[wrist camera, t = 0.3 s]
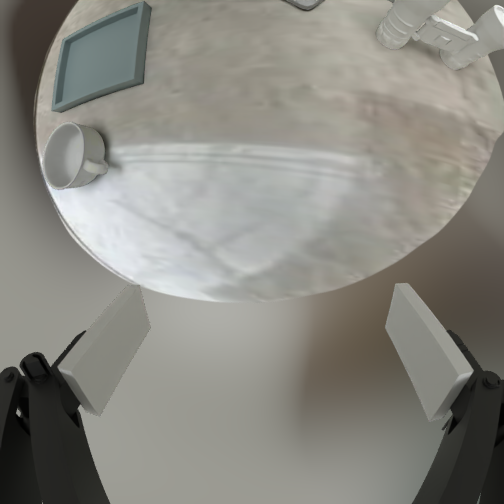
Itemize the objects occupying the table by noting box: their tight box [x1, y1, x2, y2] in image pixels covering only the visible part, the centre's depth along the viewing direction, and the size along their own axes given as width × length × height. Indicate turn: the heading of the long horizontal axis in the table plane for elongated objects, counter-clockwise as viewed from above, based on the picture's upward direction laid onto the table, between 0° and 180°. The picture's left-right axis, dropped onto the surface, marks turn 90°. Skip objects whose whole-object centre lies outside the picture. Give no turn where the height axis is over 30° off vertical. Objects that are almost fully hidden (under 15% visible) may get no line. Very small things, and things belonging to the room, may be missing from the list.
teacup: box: [42, 122, 109, 190], centre depth 35 cm, size 14×11×8 cm
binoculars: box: [376, 0, 504, 70], centre depth 18 cm, size 17×5×18 cm, turn 88°
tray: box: [52, 1, 151, 112], centre depth 32 cm, size 17×20×3 cm
